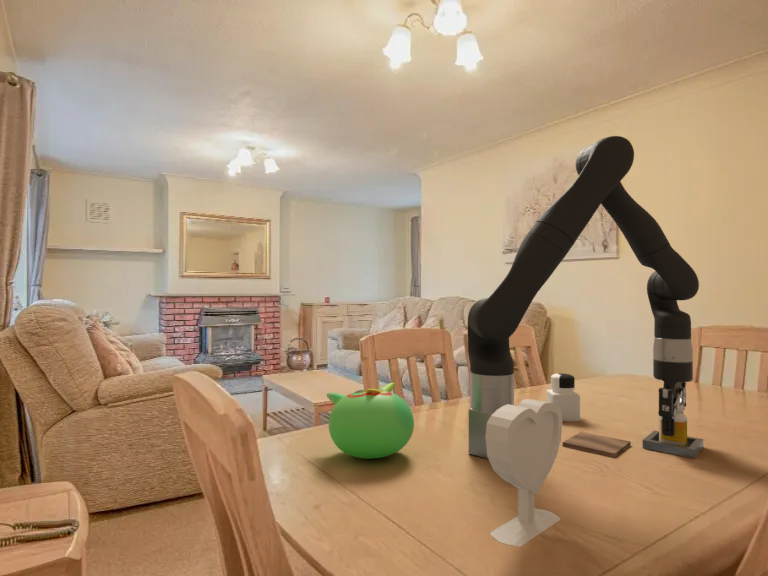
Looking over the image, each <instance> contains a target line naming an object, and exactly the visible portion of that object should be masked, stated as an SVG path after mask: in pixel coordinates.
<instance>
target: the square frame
mask: <svg viewBox="0 0 768 576" xmlns="http://www.w3.org/2000/svg"><path fill="white" fill-rule="evenodd" d="M703 448H704V438H699V437H693V436H688V435H687V447H685V446H680V445H675V444H669V443H664V442H659V430H653V431H651V433H649V434H648V435H646V437H644V438H642V449H645V450H650V451H656V452H660V453H664V454H670V455H675V456H681V457H684V458H685V457H686V458H691V459H696V458H697V456H698V455H699V454H700V452H701V451H702V450H703Z"/></svg>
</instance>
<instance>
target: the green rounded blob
mask: <svg viewBox="0 0 768 576" xmlns="http://www.w3.org/2000/svg"><path fill="white" fill-rule="evenodd" d="M395 384H396V383H395V382H389V383H387V384H384V385H382V386H381V387H379V388H367V389H359V390H356V391H354V392H351V393H349V394H347V395H346V394H341V393H338V392H337V393H336V392H328V393H326V397H327V399H329V401H330V402H332V404H334V407H333V408H332V410H331V411H330V414H329V417H328V418H329V419H328V432H329V434H330V437H331V440H332V442H333V444H334V445H335V446H336V447H337V448H338V449H339V450H340V451H341V452H343V453H345V454H346V455H349V456H352V457H354V458H358V459H364V460H365V459H369V460H370V459H372V460H373V459H381V458H386V457H388V456H391V455H393V454H396V453H397V452H399V451H401V450H402V449H403V448H405V447H406V446H407V444H408V443H409V441H410V440H411V438H412V436H413V432H414V428H415V419H414V418H415V417H414V414H413V412H412V409H411V407H410V405H409V404H408V403H407V402H406V400H405V399H404V398H402V397H401V396H400V395H397V394H396V393H393V392H392V390H394V387H395Z"/></svg>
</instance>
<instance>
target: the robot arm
mask: <svg viewBox="0 0 768 576" xmlns="http://www.w3.org/2000/svg"><path fill="white" fill-rule="evenodd" d="M575 159H576V160H575V169H576V170H575V171H576V172H577V175H578V176H577V178H575V180H574V182H573V183H572V185H570V187H568V189H567V190H566V191H564V193H562V194H561V195H560V196H559V197H558V198H557V199H556V200H554V202H553V203H552V204H551V205H550V206H549V207H547V209H545V211H543V213H541V215H540V216H539V217H538V219H537V220H536V221H535V222H534V223H533V225H532V227H531V228H530V230H529V231H528V232H527V234H526V235H525V237H524V239H523V240H522V242H521V244H520V246H519V248H518V250H517V252H516V255H515V257H514V260H513V262H512V265H511V267H510V270H509V271H508V273H507V275H506V276H505V277H504V279H503V280H502V281H501V283H500V284H499V285H498V287H496V289H495V290H494V291H493V293H491V294H490V295H489V297H486V298H482V299H479V300H477V301H475V302H474V304H473V305H471V307H470V309H469V310H468V311H469V312H468V316H467V353H468V354H467V355H468V360H469V370H470V371H469V372H470V373H469V374H470V375H469V377H470V379H469V380H470V383H469V384H470V386H469V387H470V389H469V393H470V395H469V397H470V398H469V400H470V401H469V402H470V403H469V404H470V405H469V406H470V407H469V409H468V454H470V455H473V456H477V457H480V458H484V459H488V456H487V448H486V438H485V437H486V426H487V422H488V420H489V418H490V416H491V415H492V414H493V413H494V412H495V411H496V410H498V409H499V408H501V407H502V406H504V405H507V404H509V405H514V406H515V364H514V359H513V357H512V353H511V350H510V338H511V336H512V335H513V334H514V333H515V332H516V330H517V329H518V327H519V325H520V324H521V322H522V320H523V318H524V316H525V314H526V313H527V311H528V310H529V307H530V306H531V304H532V302H533V300H534V298H536V295H537V294H538V292H539V291H540V290H541V288H542V287H543V286H544V285H545V283H546V282H547V281H548V280H549V278H550V277H552V275H553V273H554V272H555V270H557V268H558V267H559V265H560V264H561V262H562V261H563V260H564V259H565V257H566V256H567V255H568V253H569V252H570V251H571V249H572V248H573V246H574V245H575V243H576V241H577V240H578V238H579V237H580V235H581V234H582V233H583V231H584V230H585V228H586V227H587V225H589V224H588V223H589V222H590V221H591V219H592V218H593V216H594V215H595V213H596V212H597V211H598V209H599V207H600V206H601V205H602V207H603V208H604V209H605V210H606V213H608V214H609V216H610V217H611V219H612V220H613V221H614V223H615V224H616V226H617V227H618V228H619V230H620V231H621V233H622V234H623V236H624V238H625V240H626V242H627V243H628V245H629V247H630V249H631V250H632V252H633V254H634V255H635V257H636V259H637V261H638V263H640V264H641V265H642V266H643V267H646V268H650V269H652V270H654V271H653V272H652V273H651V274H650V276H649V277H648V280H647V283H646V293H647V294H646V295H647V297H648V303H649V305H650V310H651V313H652V316H653V319H654V327H653V328H654V330H653V333H654V334H653V335H654V336H653V338H654V339H653V349H652V353H653V356H652V357H653V358H652V360H653V361H652V362H653V363H652V364H653V365H652V370H653V371H652V373H653V375H652V376H653V377H654V379H655V380H659V381H662V382H663V387H659V389H658V417H659V416H661V417H662V434H663V435H666V436H674V435H675V413H676V410H678V409H679V404H682V405H683V412H682V414H684V411H685V409H686V406H687V388H686V387H687V383H689V382H692V381H693V379H694V374H693V373H694V370H693V368H694V367H693V365H694V361H693V360H694V359H693V358H694V357H693V353H694V352H693V343H692V320H691V319H692V318H691V316H690V314H689V313H687V312H685V311H683V310H681V309H680V306H679V304H678V301H688V300H691V299H693V298H694V297H696V295H697V293H698V291H699V287H700V281H699V277H698V276H697V274H696V271H695V270H694V269H693V267H692V266H691V265H690V264H689V262H687V261H686V260H685V259H684V258H683V257H682V255H681V254H679V252H677V251H676V250H675V248H673V247H672V246H671V244H670V242H669V240H668V238H667V236H666V234H665V233H664V231H663V229H662V228H661V226H660V224H659V223H658V222H657V220H656V219H655V218H654V217H653V215H652V214H650V213H649V211H647V210H646V209H645V208H644V207H643V206H642V205H640V204H639V203H638V202H637V201H636V200H635V199H634V198H633V197H632V196H631V195H630V193H628V191H627V190H626V189H625V187H624V185H623V184H622V182H621V181H622V180H623V179H624V178H625V176H627V174H628V173H629V171H630V170H631V168H632V166H633V165H634V159H635V150H634V147H633V145H632V143H631V141H630V140H629V139H628V138H626V137H623V136H620V135H613V136H611V135H610V136H607V137H604V138H601V139H599V140H597V141H595V142H594V143H592V144H590V145H588V146H586V147H584V148H583V149H581V150H580V152H579V153H578V155H577V157H576V158H575ZM666 409H669V412H668V411H665V410H666ZM488 460H489V459H488Z"/></svg>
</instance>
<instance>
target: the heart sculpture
mask: <svg viewBox="0 0 768 576" xmlns="http://www.w3.org/2000/svg"><path fill="white" fill-rule="evenodd" d="M562 430H563V421H562V412H561V409H560V407H559V406H558V405H556V404H554V403H549V402H547V401H543V400H538V399H533V398H526V399H525V398H524V399H522V400H521V401H520V402H519V403H518V405H515V404H514V405H509V404H507V405H504V406H502V407H501V408H499V409H498V410H496V411H495V412H494V413H493V414H492V415H491V416H490V418H489V420H488V422H487V426H486V437H485V438H486V448H487V456H488V461H489V463H490V465H491V468H492V470H493V471H494V473H496V475H498V477H500V478H501V479H502V480H503V481H505V482H507V483H509V484H511V486H512V487H515V488H516V489H517V512H518V513H517V516H515V517H514V518H512V519H510V520H508V521H507V522H505V523H503V524H502V525H500V526H499V527H497V528H494V530H492V531H490V532H489V535H491V537H492V538H494V540H496V541H497V542H499V543H502V544H504V545H509V546H514V547H519V548H520V547H523V546H524V545H525V544H527V543H528V542H530V541H531V540H532V539H534V538H535V537H537V536H538V535H540V534H541V533H543V532H544V531H546V530H547V529H549V528H551V527H552V526H553V525H554V524H556V523H557V522H559V521H560V520H561V518H560V517H559V515H557V514H555V513H553V512H551V511H549V510H546V509H540V508H535V495H536V496H537V495H538V493H539V492H540V490H541V488H542V486H543V485H544V483H545V481H546V479H547V478H548V475H549V474H550V472H551V470H552V467H553V466H554V464H555V461H556V459H557V455H558V454H559V453H558V452H559V448H560V445H561V440H562V432H563V431H562Z"/></svg>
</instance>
